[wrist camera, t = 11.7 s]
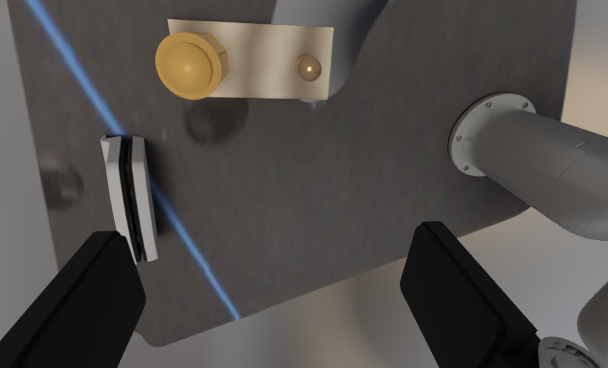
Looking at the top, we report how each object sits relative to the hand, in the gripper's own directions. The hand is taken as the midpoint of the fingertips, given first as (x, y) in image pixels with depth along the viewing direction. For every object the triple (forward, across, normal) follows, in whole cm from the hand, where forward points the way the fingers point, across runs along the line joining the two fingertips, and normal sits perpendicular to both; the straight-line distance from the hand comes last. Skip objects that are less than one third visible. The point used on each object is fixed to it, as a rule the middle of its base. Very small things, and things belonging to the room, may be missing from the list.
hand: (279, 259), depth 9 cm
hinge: (+31, +19, +15) cm, 39 cm away
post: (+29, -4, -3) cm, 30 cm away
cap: (+29, +8, -3) cm, 30 cm away
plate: (+30, +2, -3) cm, 31 cm away
